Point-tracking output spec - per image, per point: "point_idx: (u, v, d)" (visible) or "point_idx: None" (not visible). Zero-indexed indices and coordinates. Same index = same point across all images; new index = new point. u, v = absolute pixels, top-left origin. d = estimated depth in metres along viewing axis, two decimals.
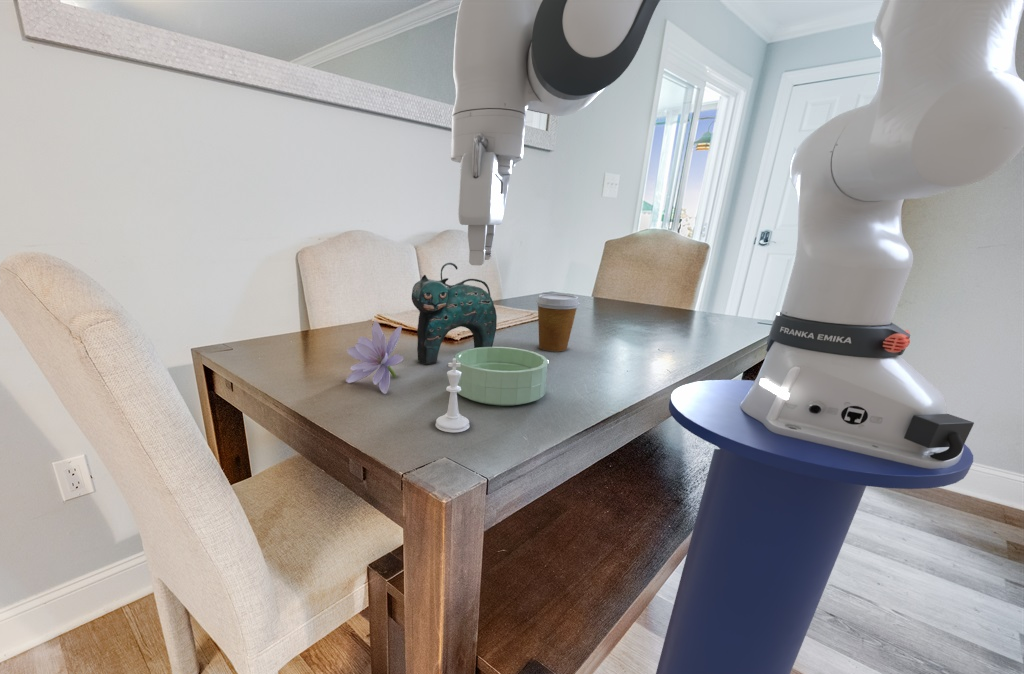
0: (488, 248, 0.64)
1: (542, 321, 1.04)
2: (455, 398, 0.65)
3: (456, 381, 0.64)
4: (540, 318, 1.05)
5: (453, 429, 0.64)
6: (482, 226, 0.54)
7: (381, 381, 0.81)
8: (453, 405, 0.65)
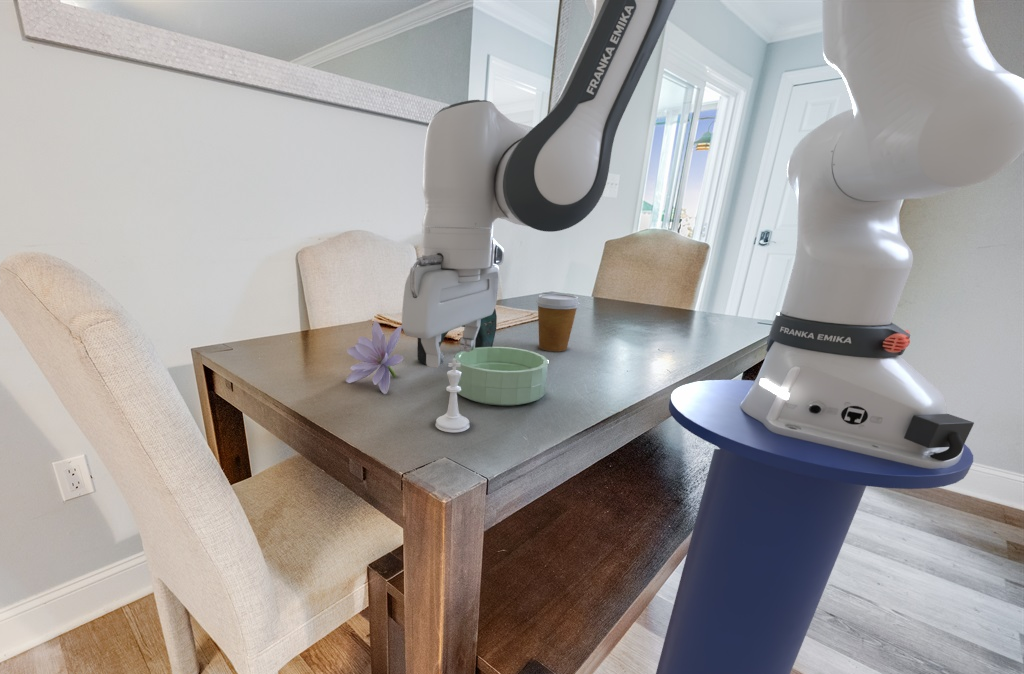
0: (468, 341, 0.66)
1: (542, 321, 1.04)
2: (455, 398, 0.65)
3: (456, 381, 0.64)
4: (540, 318, 1.05)
5: (453, 429, 0.64)
6: None
7: (381, 381, 0.81)
8: (453, 406, 0.65)
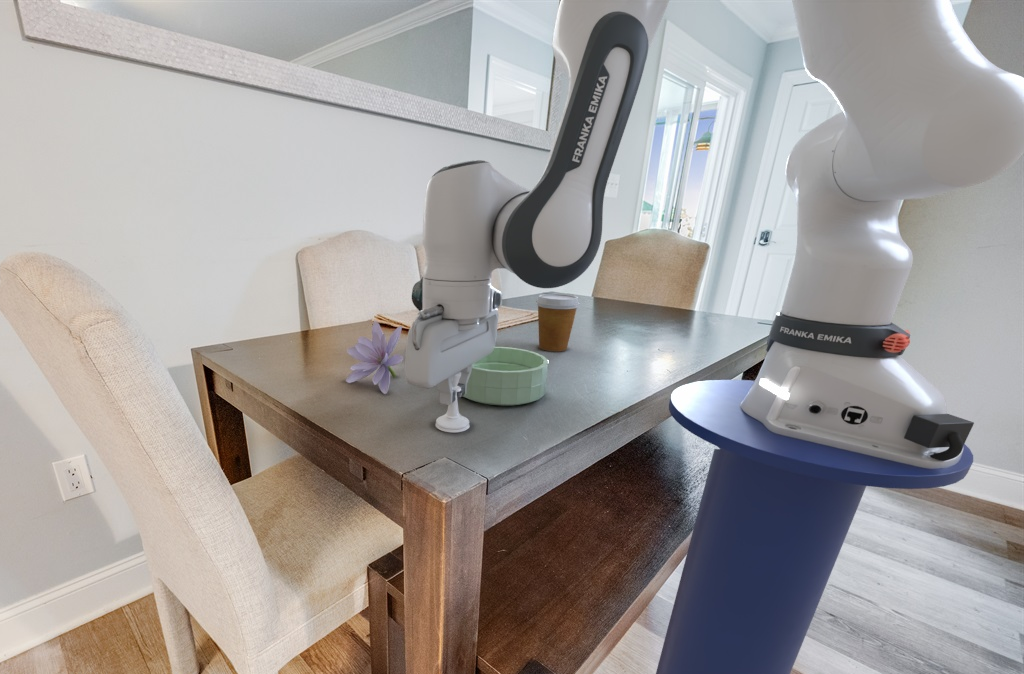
0: None
1: (542, 321, 1.04)
2: None
3: (456, 381, 0.64)
4: (540, 318, 1.05)
5: (453, 429, 0.64)
6: None
7: (381, 381, 0.81)
8: (453, 406, 0.65)
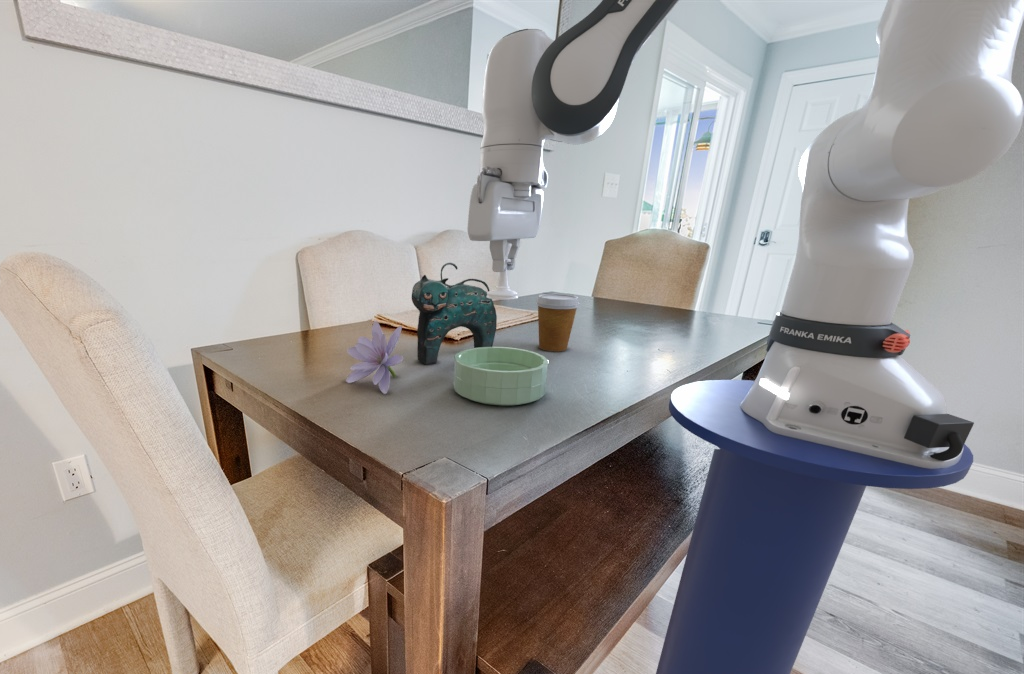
0: None
1: (542, 321, 1.04)
2: None
3: (507, 251, 0.70)
4: (540, 318, 1.05)
5: (504, 296, 0.70)
6: (500, 241, 0.67)
7: (381, 381, 0.81)
8: (504, 276, 0.71)
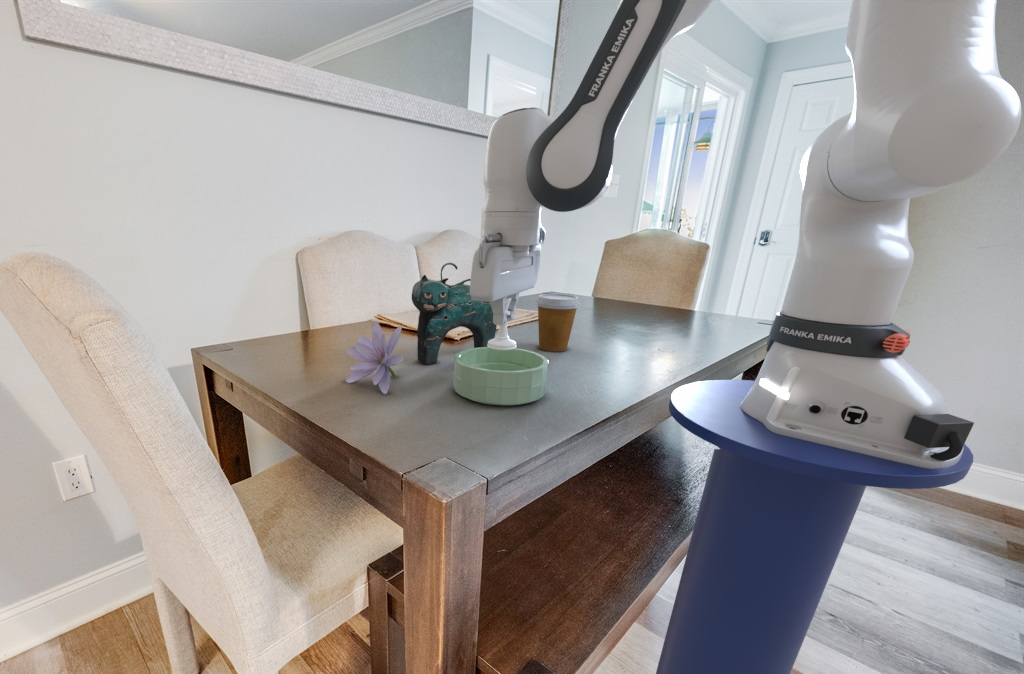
0: None
1: (542, 321, 1.04)
2: None
3: (507, 305, 0.74)
4: (540, 318, 1.05)
5: (504, 347, 0.75)
6: (500, 297, 0.71)
7: (381, 381, 0.81)
8: (503, 327, 0.76)
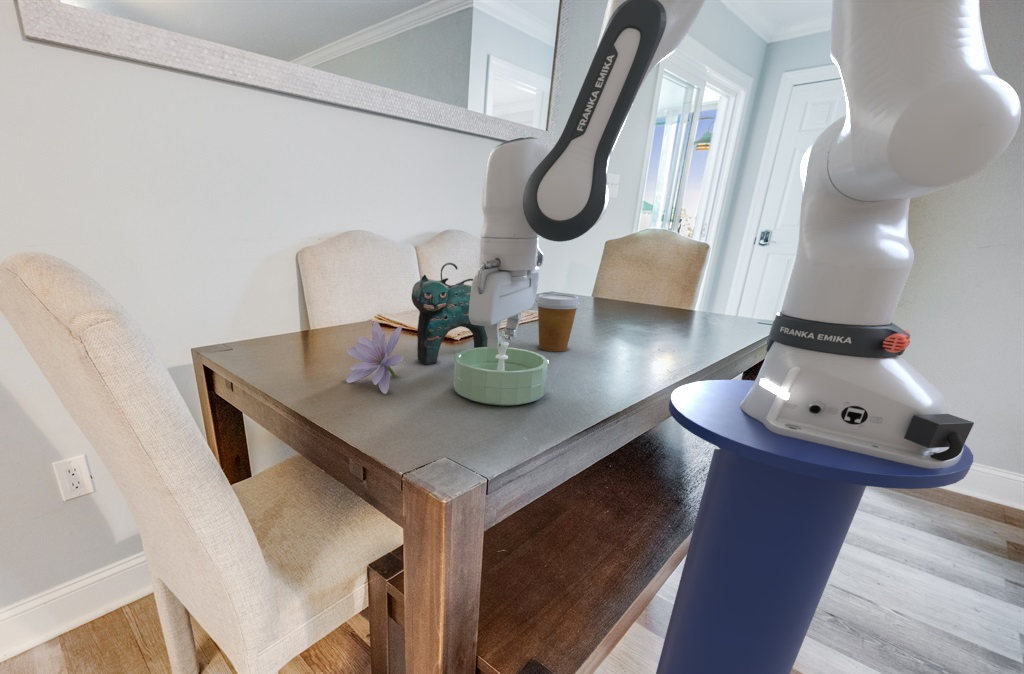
0: (511, 331, 0.79)
1: (542, 321, 1.04)
2: (503, 364, 0.78)
3: (504, 350, 0.77)
4: (540, 318, 1.05)
5: None
6: None
7: (381, 381, 0.81)
8: None
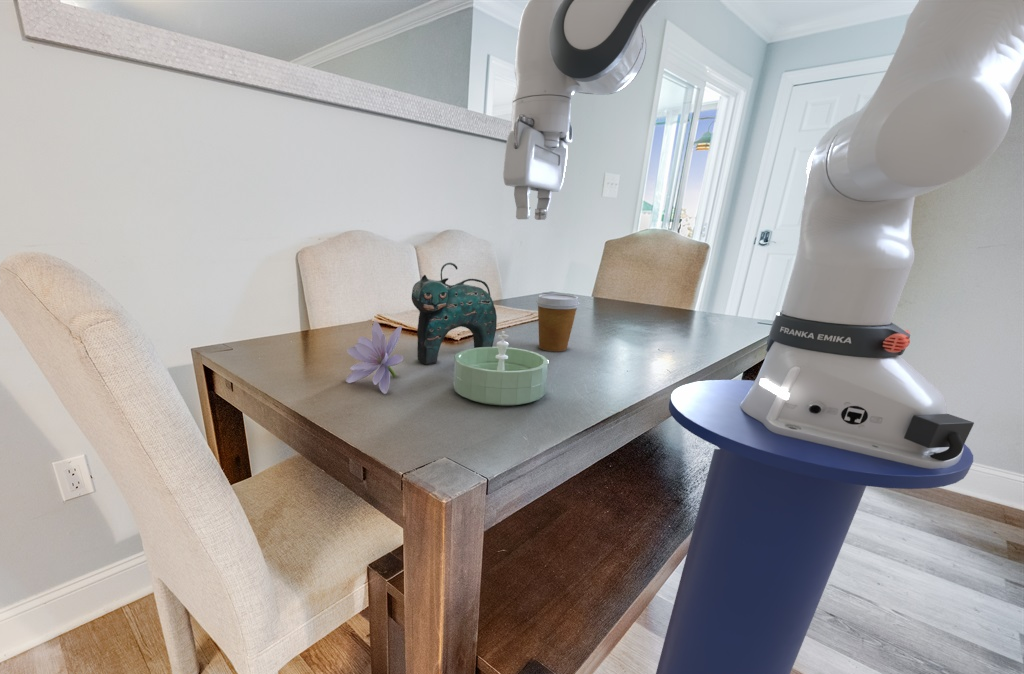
0: (543, 210, 0.79)
1: (542, 321, 1.04)
2: (503, 364, 0.78)
3: (504, 350, 0.77)
4: (540, 318, 1.05)
5: None
6: (525, 187, 0.69)
7: (381, 381, 0.81)
8: None
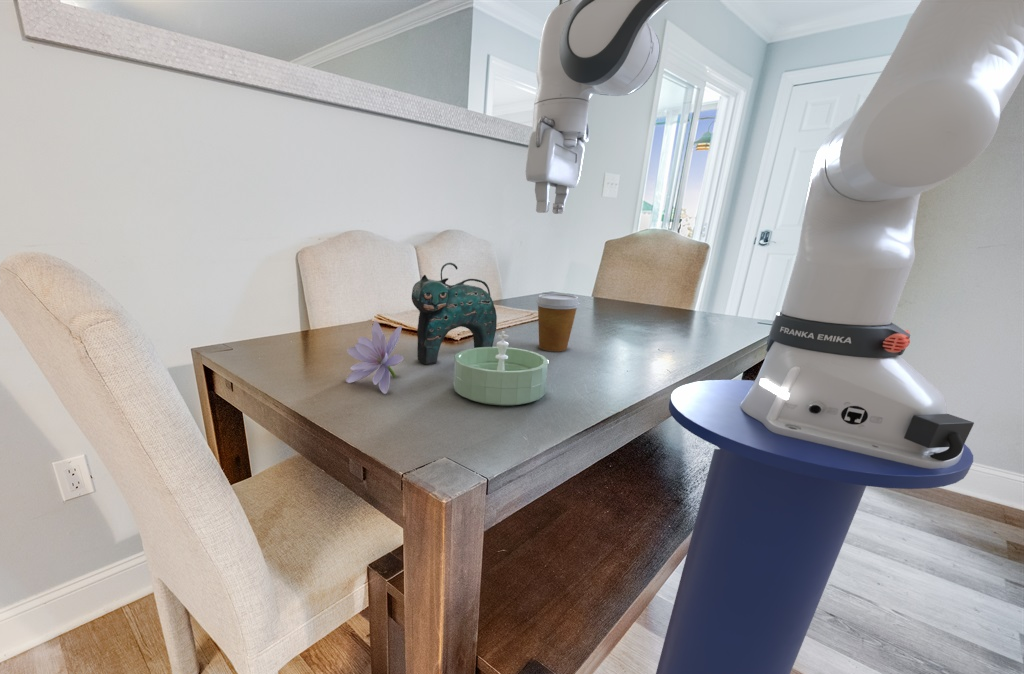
0: (560, 204, 0.85)
1: (542, 321, 1.04)
2: (503, 364, 0.78)
3: (504, 350, 0.77)
4: (540, 318, 1.05)
5: None
6: (545, 182, 0.76)
7: (381, 381, 0.81)
8: None
